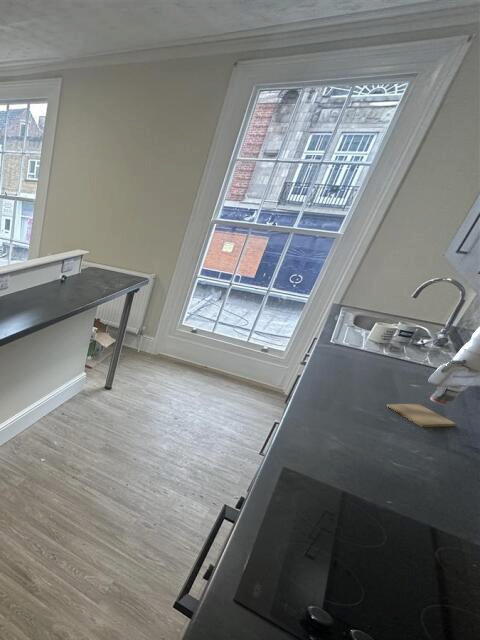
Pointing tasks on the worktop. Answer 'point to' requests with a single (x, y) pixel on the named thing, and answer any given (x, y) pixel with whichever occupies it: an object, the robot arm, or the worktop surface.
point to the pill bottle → (447, 395)
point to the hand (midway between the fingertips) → (444, 395)
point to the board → (421, 415)
